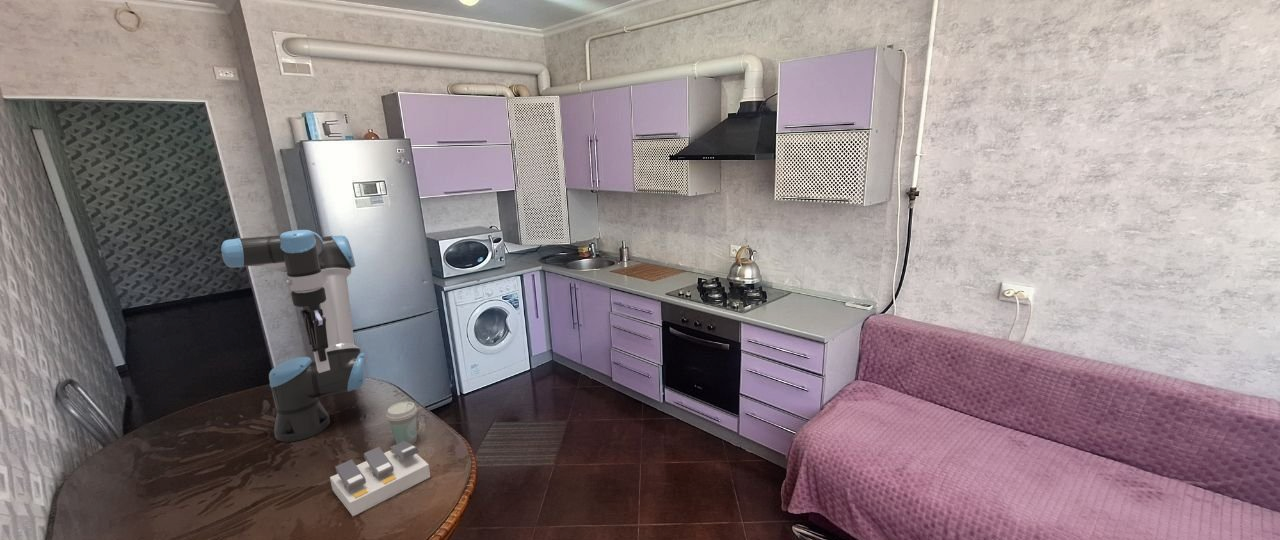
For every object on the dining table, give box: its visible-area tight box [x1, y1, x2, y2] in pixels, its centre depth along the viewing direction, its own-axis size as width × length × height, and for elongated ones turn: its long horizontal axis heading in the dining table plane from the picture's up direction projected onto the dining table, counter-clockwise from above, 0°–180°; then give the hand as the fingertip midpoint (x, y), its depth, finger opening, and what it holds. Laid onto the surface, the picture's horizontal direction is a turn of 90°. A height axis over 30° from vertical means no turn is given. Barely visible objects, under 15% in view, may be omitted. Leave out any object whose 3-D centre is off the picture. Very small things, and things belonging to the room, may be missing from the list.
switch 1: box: [335, 459, 366, 491], centre depth 132 cm, size 9×4×2 cm, turn 48°
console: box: [329, 449, 431, 517], centre depth 138 cm, size 15×20×6 cm
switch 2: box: [363, 446, 394, 478], centre depth 136 cm, size 9×4×2 cm, turn 48°
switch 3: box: [389, 441, 420, 459], centre depth 142 cm, size 9×4×2 cm, turn 47°
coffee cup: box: [386, 401, 418, 445], centre depth 156 cm, size 8×8×12 cm
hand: (323, 370), depth 140 cm, fingers closed
